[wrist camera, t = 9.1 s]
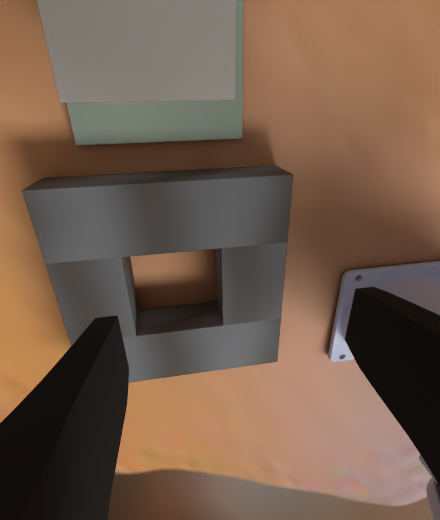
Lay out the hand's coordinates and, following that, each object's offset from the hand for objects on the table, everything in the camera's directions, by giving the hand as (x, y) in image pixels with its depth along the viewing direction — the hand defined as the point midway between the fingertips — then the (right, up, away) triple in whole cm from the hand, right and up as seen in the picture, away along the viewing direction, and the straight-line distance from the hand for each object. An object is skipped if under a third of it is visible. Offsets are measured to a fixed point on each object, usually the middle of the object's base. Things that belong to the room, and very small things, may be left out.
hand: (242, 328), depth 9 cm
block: (-4, +11, +4) cm, 12 cm away
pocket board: (-3, +1, +9) cm, 10 cm away
